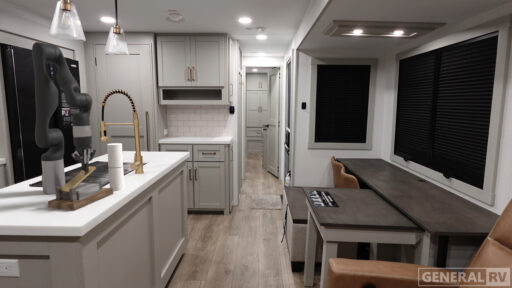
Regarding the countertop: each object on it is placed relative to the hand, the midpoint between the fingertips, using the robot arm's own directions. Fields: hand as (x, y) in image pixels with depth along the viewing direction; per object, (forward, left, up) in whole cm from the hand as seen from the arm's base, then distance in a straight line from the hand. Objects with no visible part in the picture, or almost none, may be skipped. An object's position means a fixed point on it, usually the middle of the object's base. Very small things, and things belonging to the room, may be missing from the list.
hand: (85, 170), depth 136 cm
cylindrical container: (+3, +17, -14) cm, 23 cm away
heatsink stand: (0, -3, -14) cm, 14 cm away
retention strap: (0, -4, -4) cm, 5 cm away
